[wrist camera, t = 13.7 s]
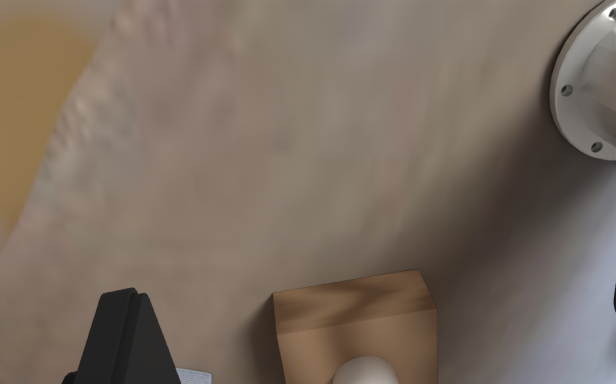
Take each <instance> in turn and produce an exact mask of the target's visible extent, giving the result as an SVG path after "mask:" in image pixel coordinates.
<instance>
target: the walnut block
mask: <svg viewBox="0 0 616 384" xmlns="http://www.w3.org/2000/svg"><path fill="white" fill-rule="evenodd" d="M273 300H274V311H275V322H276V332H277V339H278V344H279V350H280V355H281V360H282V365H283V370H284V376H285V381H286V384H333V378H334V375H335V373H336V371H337V370H338V369H339V368H340V367H341V366H342V365H343V364H345V363H346V362H348V361H350V360H352V359H354V358H358V357H362V356H375V357H380V358H382V359H385V360H386V361H388V362H389V363H390V364H391V365H392V366H393V368H394V371H395V374H396V377H397V380H398V383H399V384H438V342H437V307H436V305H435V303H434V301H433V299H432V297H431V295H430V293H429V290H428V288H427V286H426V284H425V282H424V280H423V278H422V276H421V274H420V272H419V270H418V269H414V270H408V271H402V272H396V273H390V274H384V275H378V276H372V277H366V278H360V279H354V280H348V281H342V282H336V283H329V284H323V285H317V286H311V287H305V288H299V289H293V290H287V291H281V292H275V293H273Z"/></svg>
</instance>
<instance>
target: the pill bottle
mask: <svg viewBox="0 0 616 384" xmlns="http://www.w3.org/2000/svg"><path fill="white" fill-rule="evenodd" d="M333 384H399V383H398V380H397V377H396V374H395V371H394V368H393V366H392V365H391V364H390V363H389V362H388V361H386V360H385V359H382V358H380V357H375V356H362V357H358V358H354V359H352V360H350V361H348V362H346V363H345V364H343V365H342V366H341V367H340V368H339V369H338V370H337V371H336V373H335V375H334V378H333Z"/></svg>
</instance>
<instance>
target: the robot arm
mask: <svg viewBox="0 0 616 384" xmlns="http://www.w3.org/2000/svg"><path fill="white" fill-rule="evenodd" d="M549 96H550V109H551V113H552V116H553V120H554V122H555V124H556V126H557V128H558V130H559V131H560V133H561V134H562V135H563V137H564V138H565V139H566V140H567V141H568V142H569V143H570V144H572V145H573V146H574V147H576V148H577V149H578V150H580V151H581V152H583V153H585V154H587V155H589V156H591V157H594V158H599V159H603V160H616V0H605V1H604V2H603V3H601V4H600V5H599V6H598V7H596V8H595V9H594V10H592V11H591V12H590V13H589V14H588V15H587V16H586V17H585V18H584V19H583V20H582V21H581V22H580V23H579V24H578V25H577V27H576V28H575V30H574V31H573V32H572V34H571V35H570V37H569V38H568V39H567V41H566V42H565V44H564V46H563V48H562V50H561V52H560V54H559V56H558V58H557V60H556V64H555V67H554V70H553V73H552V76H551V84H550V91H549ZM614 308H615V311H616V286H615V293H614ZM62 384H181V381H180V378H179V376H178V373H177V370H176V368H175V365H174V362H173V360H172V357H171V354H170V352H169V349H168V346H167V344H166V341H165V339H164V336H163V333H162V331H161V328H160V325H159V323H158V320H157V317H156V315H155V312H154V309H153V307H152V304H151V301H150V299H149V297H148V295H147V294H146V293H141V294H138V293H137V291H136V290H135V288H127V289H122V290H117V291H112V292H107V293H104V294H102V295H101V297H100V300H99V303H98V306H97V309H96V313H95V316H94V319H93V322H92V325H91V329H90V332H89V335H88V338H87V342H86V345H85V348H84V351H83V354H82V358H81V361H80V364H79V367H78V371H76V372H71V373H69V374H67V375H66V376H65V378H64V380H63V382H62Z"/></svg>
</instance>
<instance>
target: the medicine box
mask: <svg viewBox="0 0 616 384" xmlns="http://www.w3.org/2000/svg"><path fill="white" fill-rule="evenodd" d="M175 368H176V370H177V373H178V376H179V378H180V381H181V384H211V381H212V375H211V374H210V373H208V372H202V371H196V370H190V369H184V368H178V367H175Z"/></svg>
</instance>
